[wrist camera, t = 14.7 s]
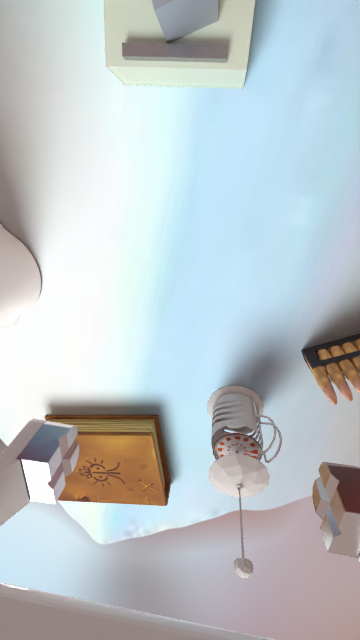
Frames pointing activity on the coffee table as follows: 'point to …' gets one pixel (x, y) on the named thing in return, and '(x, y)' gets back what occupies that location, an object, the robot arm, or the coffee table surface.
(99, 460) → the diary
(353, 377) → the ammunition clip
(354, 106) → the coffee table surface
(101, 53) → the coffee table surface
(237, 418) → the french press
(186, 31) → the block
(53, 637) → the robot arm
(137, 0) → the stand
